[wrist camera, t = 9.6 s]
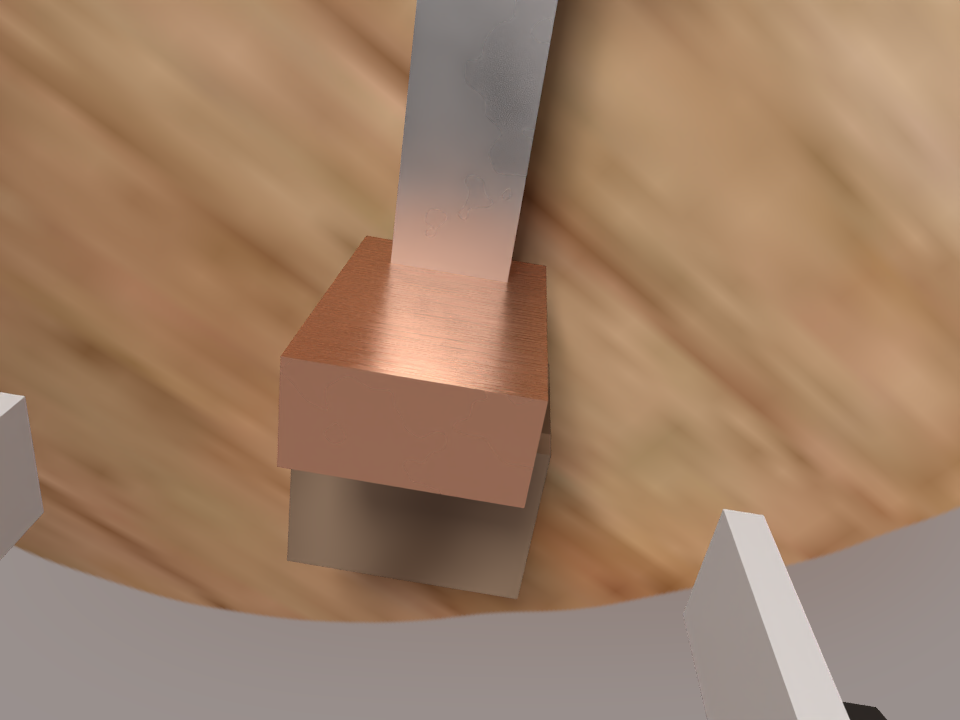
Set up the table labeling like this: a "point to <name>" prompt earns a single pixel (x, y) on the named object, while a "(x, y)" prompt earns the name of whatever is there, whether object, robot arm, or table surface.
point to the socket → (415, 530)
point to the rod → (439, 283)
